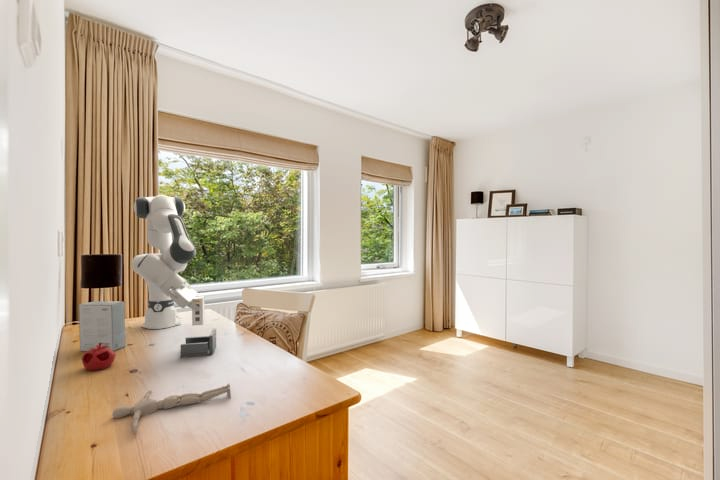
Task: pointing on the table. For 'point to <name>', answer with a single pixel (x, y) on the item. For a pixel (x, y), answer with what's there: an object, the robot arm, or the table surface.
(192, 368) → the table surface
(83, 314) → the hard drive box
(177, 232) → the robot arm
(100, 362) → the pomegranate
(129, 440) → the table surface
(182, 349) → the bracket
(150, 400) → the artist's mannequin
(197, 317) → the ivory rectangular block
